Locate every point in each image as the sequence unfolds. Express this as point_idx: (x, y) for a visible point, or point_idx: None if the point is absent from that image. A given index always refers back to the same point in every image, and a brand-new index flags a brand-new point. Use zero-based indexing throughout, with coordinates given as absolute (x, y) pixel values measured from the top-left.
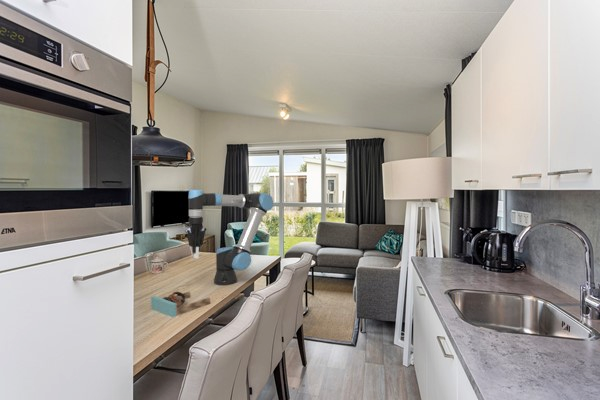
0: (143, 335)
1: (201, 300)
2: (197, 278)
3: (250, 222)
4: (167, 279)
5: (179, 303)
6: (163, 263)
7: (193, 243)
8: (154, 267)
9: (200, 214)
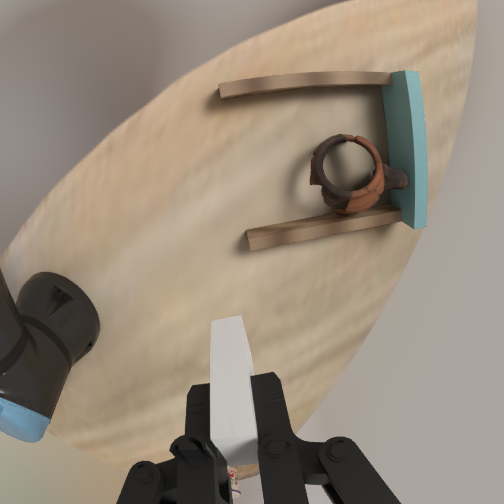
0: (467, 46)
1: (267, 82)
2: (140, 399)
3: None
4: None
5: (348, 136)
6: None
7: (306, 493)
8: (234, 479)
9: None
